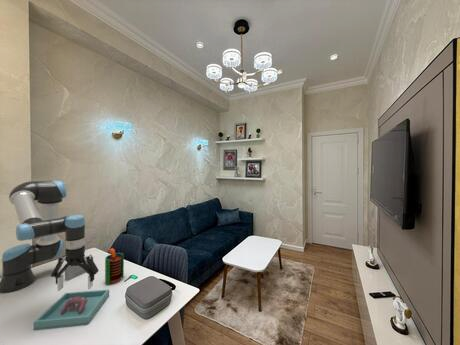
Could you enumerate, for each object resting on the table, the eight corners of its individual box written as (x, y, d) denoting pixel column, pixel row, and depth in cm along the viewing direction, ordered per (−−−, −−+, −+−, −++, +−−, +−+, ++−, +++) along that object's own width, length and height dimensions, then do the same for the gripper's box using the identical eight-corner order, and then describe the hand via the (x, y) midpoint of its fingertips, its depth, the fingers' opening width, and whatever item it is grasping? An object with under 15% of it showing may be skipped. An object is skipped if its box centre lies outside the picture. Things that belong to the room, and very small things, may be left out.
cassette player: (91, 268, 136) (90, 254, 136) (93, 269, 135) (93, 255, 135) (65, 280, 122) (64, 264, 121) (67, 281, 121) (67, 265, 120)
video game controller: (85, 312, 95) (90, 295, 98) (79, 314, 91) (84, 297, 94) (65, 312, 95) (70, 296, 98) (58, 314, 91) (63, 297, 94)
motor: (113, 286, 115) (113, 253, 115) (101, 284, 117) (100, 252, 117) (125, 277, 125) (125, 247, 125) (114, 275, 127) (114, 245, 127)
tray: (33, 329, 84) (33, 322, 84) (65, 299, 104) (65, 292, 104) (88, 324, 87) (88, 316, 87) (109, 295, 107) (109, 289, 107)
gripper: (40, 251, 89) (41, 295, 90) (98, 248, 93) (98, 291, 94) (53, 244, 97) (53, 285, 97) (106, 242, 100) (106, 282, 101)
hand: (75, 288), depth 95 cm, fingers open, 13 cm apart
